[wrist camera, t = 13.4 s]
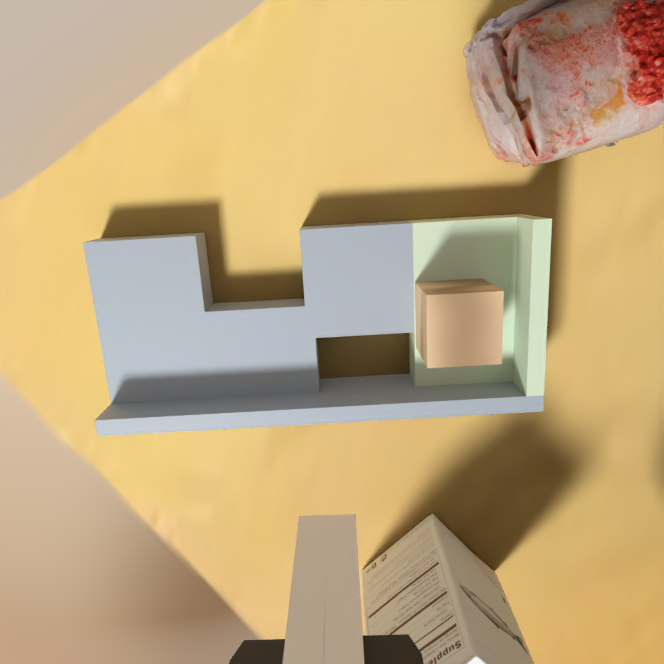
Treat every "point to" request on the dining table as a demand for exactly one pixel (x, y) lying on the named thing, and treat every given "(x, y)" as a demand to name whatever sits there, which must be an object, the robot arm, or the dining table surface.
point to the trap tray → (312, 327)
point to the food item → (567, 76)
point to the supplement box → (441, 600)
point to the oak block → (459, 322)
